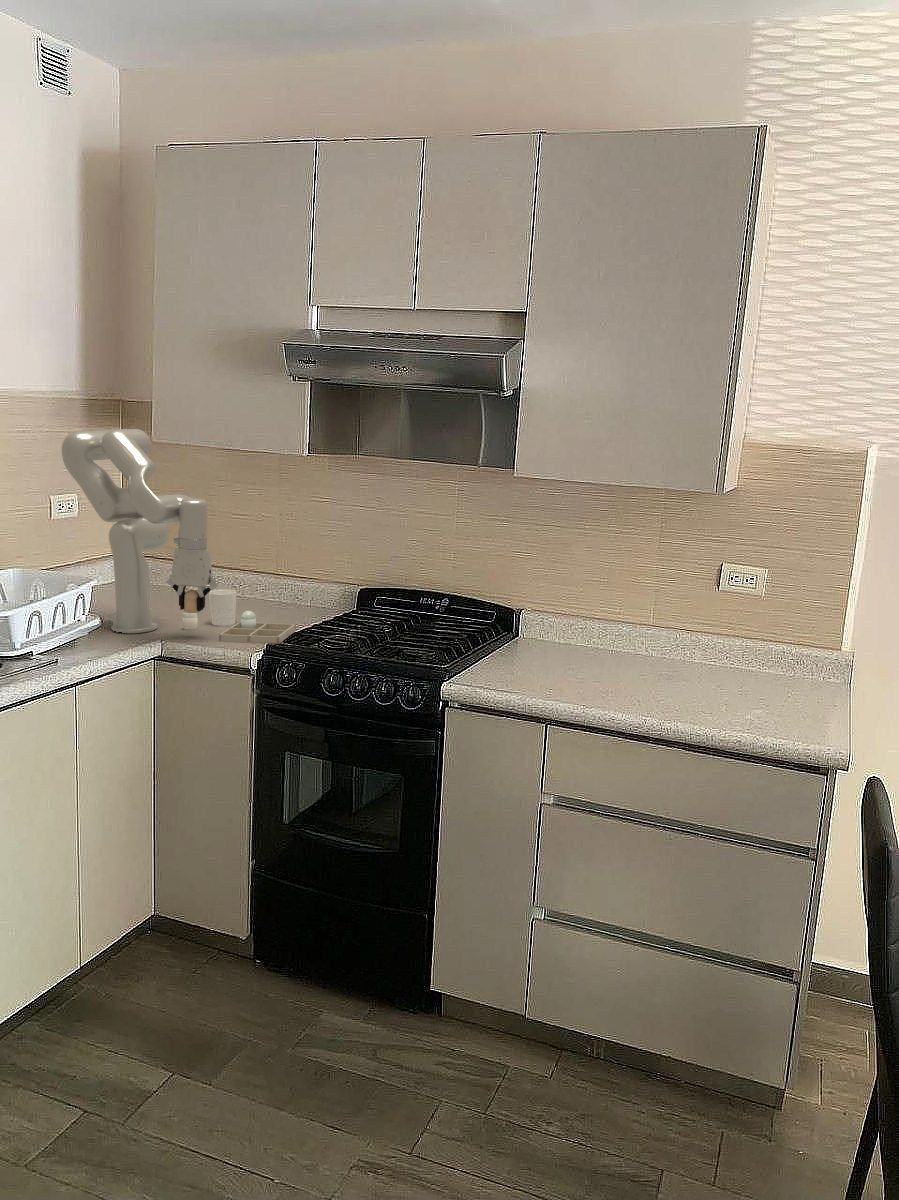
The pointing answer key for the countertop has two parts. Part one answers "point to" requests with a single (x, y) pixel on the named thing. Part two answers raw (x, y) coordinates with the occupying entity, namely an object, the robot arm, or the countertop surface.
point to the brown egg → (191, 601)
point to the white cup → (222, 607)
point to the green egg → (248, 620)
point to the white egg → (190, 621)
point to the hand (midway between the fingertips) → (191, 608)
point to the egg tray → (258, 633)
